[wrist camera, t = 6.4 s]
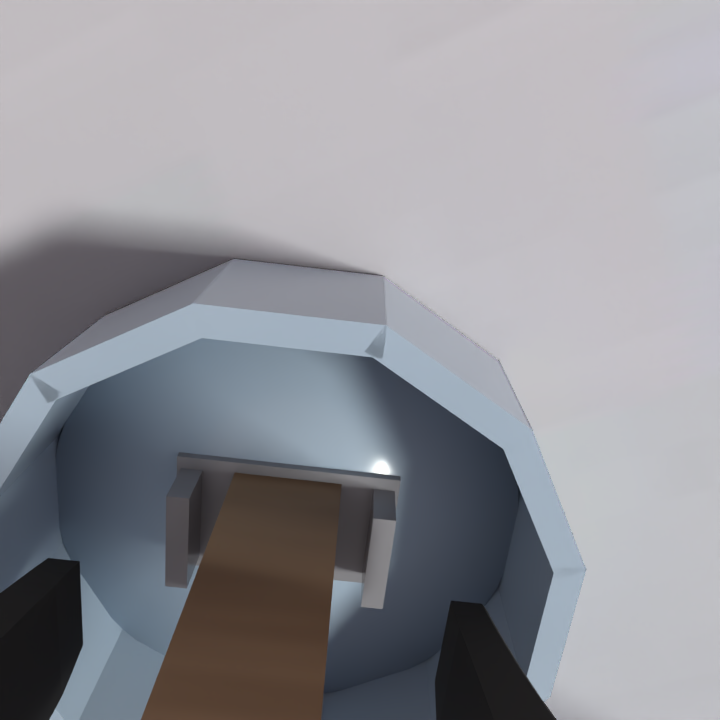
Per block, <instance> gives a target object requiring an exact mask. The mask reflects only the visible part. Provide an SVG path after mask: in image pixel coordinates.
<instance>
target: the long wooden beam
mask: <svg viewBox="0 0 720 720" xmlns="http://www.w3.org/2000/svg"><path fill="white" fill-rule="evenodd" d="M341 486H342V484H335V483H326V482H317V481H308V480H299V479H290V478H281V477H271V476H262V475H253V474H244V473H234V476H233V478H232V481H231V484H230V486H229V489H228V491H227V494H226V497H225V499H224V502H223V505H222V507H221V510H220V513H219V515H218V518H217V520H216V523H215V526H214V528H213V531H212V534H211V536H210V539H209V541H208V544H207V547H206V549H205V552H204V555H203V557H202V560H201V563H200V565H199V568H198V570H197V573H196V576H195V578H194V581H193V584H192V586H191V589H190V591H189V594H188V597H187V599H186V602H185V605H184V607H183V610H182V613H181V615H180V618H179V620H178V623H177V626H176V628H175V631H174V634H173V636H172V639H171V641H170V644H169V647H168V649H167V652H166V655H165V657H164V660H163V663H162V665H161V668H160V670H159V673H158V676H157V678H156V681H155V684H154V686H153V689H152V691H151V694H150V697H149V699H148V702H147V705H146V707H145V710H144V712H143V715H142V718H141V720H321V716H322V704H323V693H324V682H325V670H326V659H327V647H328V636H329V624H330V613H331V601H332V590H333V578H334V567H335V555H336V544H337V532H338V521H339V509H340V498H341Z"/></svg>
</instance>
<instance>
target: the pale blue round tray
mask: <svg viewBox="0 0 720 720" xmlns="http://www.w3.org/2000/svg"><path fill="white" fill-rule="evenodd" d="M234 473H244V474H253V475H262V476H271V477H281V478H290V479H299V480H308V481H317V482H326V483H335V484H342V486H341V498H340V509H339V521H338V532H337V544H336V555H335V567H334V578H333V590H332V601H331V613H330V624H329V636H328V647H327V659H326V670H325V682H324V693H323V704H322V716H321V720H436V701H435V677H436V672H437V667H438V662H439V657H440V652H441V647H442V642H443V637H444V632H445V627H446V622H447V617H448V612H449V607H450V602H451V601H461V602H470V603H480V604H483V606H484V607H485V608H486V610H487V611H488V613H489V615H490V617H491V619H492V620H493V622H494V624H495V626H496V627H497V629H498V631H499V632H500V634H501V636H502V638H503V639H504V641H505V643H506V644H507V646H508V648H509V649H510V651H511V653H512V654H513V656H514V657H515V659H516V661H517V662H518V664H519V665H520V667H521V669H522V670H523V672H524V673H525V675H526V676H527V678H528V679H529V681H530V682H531V684H532V685H533V687H534V688H535V690H536V691H537V693H538V694H539V696H540V697H541V699H542V700H543V701H544V702H545V701H546V700H547V699H548V698H549V697H550V696H551V692H552V689H553V685H554V682H555V678H556V675H557V671H558V668H559V664H560V660H561V657H562V653H563V650H564V646H565V643H566V639H567V636H568V632H569V629H570V625H571V621H572V618H573V614H574V611H575V607H576V604H577V600H578V597H579V593H580V590H581V586H582V582H583V579H584V575H585V572H586V567H585V565H584V563H583V560H582V558H581V555H580V552H579V550H578V547H577V545H576V542H575V539H574V537H573V534H572V532H571V529H570V526H569V524H568V521H567V519H566V516H565V513H564V511H563V508H562V506H561V503H560V501H559V498H558V495H557V493H556V490H555V488H554V485H553V482H552V480H551V477H550V475H549V472H548V469H547V467H546V464H545V462H544V459H543V456H542V454H541V451H540V449H539V446H538V443H537V441H536V438H535V436H534V433H533V429H532V427H531V425H530V423H529V421H528V419H527V417H526V415H525V413H524V411H523V409H522V407H521V405H520V403H519V401H518V399H517V396H516V394H515V392H514V390H513V388H512V386H511V384H510V382H509V380H508V378H507V376H506V374H505V372H504V370H503V368H502V366H501V363H500V361H499V360H497V359H496V358H495V357H493V356H492V355H491V354H489V353H488V352H487V351H485V350H484V349H482V348H481V347H480V346H478V345H477V344H476V343H474V342H473V341H472V340H470V339H469V338H467V337H466V336H465V335H463V334H462V333H461V332H459V331H458V330H457V329H455V328H454V327H452V326H451V325H450V324H448V323H447V322H446V321H444V320H443V319H442V318H440V317H439V316H438V315H436V314H435V313H433V312H432V311H431V310H429V309H428V308H427V307H425V306H424V305H423V304H421V303H420V302H418V301H417V300H416V299H414V298H413V297H412V296H410V295H409V294H408V293H406V292H405V291H403V290H402V289H401V288H399V287H398V286H397V285H395V284H394V283H393V282H391V281H390V280H388V279H387V278H386V277H385V276H379V275H370V274H362V273H353V272H344V271H336V270H327V269H318V268H310V267H301V266H292V265H284V264H275V263H266V262H258V261H249V260H240V259H232V260H230V261H228V262H225V263H223V264H221V265H218V266H216V267H214V268H212V269H209V270H207V271H205V272H203V273H200V274H198V275H196V276H194V277H191V278H189V279H187V280H184V281H182V282H180V283H178V284H175V285H173V286H171V287H169V288H166V289H164V290H162V291H160V292H157V293H155V294H153V295H150V296H148V297H146V298H144V299H141V300H139V301H137V302H135V303H132V304H130V305H128V306H126V307H123V308H121V309H119V310H116V311H114V312H112V313H110V314H107V315H104V316H103V317H102V318H101V319H99V320H98V321H97V322H96V323H94V324H93V325H92V326H90V327H89V328H88V329H87V330H85V331H84V332H83V333H81V334H80V335H79V336H78V337H76V338H75V339H74V340H73V341H71V342H70V343H69V344H67V345H66V346H65V347H64V348H62V349H61V350H60V351H58V352H57V353H56V354H55V355H53V356H52V357H51V358H50V359H48V360H47V361H46V362H44V363H43V364H42V365H41V366H39V367H38V368H37V369H35V370H34V371H33V372H32V373H30V374H29V377H28V378H27V380H26V382H25V383H24V385H23V386H22V388H21V390H20V391H19V393H18V395H17V396H16V398H15V400H14V401H13V403H12V405H11V406H10V408H9V410H8V411H7V413H6V415H5V416H4V418H3V419H2V421H1V423H0V593H1V592H2V591H4V590H5V589H6V588H8V587H9V586H10V585H12V584H13V583H14V582H16V581H17V580H18V579H20V578H21V577H22V576H24V575H25V574H27V573H28V572H29V571H31V570H32V569H33V568H35V567H36V566H37V565H39V564H40V563H42V562H43V561H44V560H46V559H47V558H54V559H64V560H73V561H80V580H81V603H82V627H83V646H82V649H81V651H80V654H79V656H78V659H77V662H76V664H75V667H74V669H73V672H72V674H71V676H70V679H69V681H68V683H67V686H66V688H65V690H64V693H63V695H62V697H61V699H60V701H59V703H58V705H57V707H56V708H55V710H54V712H53V714H52V716H51V717H50V719H49V720H141V718H142V715H143V712H144V710H145V707H146V705H147V702H148V699H149V697H150V694H151V691H152V689H153V686H154V684H155V681H156V678H157V676H158V673H159V670H160V668H161V665H162V663H163V660H164V657H165V655H166V652H167V649H168V647H169V644H170V641H171V639H172V636H173V634H174V631H175V628H176V626H177V623H178V620H179V618H180V615H181V613H182V610H183V607H184V605H185V602H186V599H187V597H188V594H189V591H190V589H191V586H192V584H193V581H194V578H195V576H196V573H197V570H198V568H199V565H200V563H201V560H202V557H203V555H204V552H205V549H206V547H207V544H208V541H209V539H210V536H211V534H212V531H213V528H214V526H215V523H216V520H217V518H218V515H219V513H220V510H221V507H222V505H223V502H224V499H225V497H226V494H227V491H228V489H229V486H230V484H231V481H232V478H233V476H234Z"/></svg>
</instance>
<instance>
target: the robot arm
mask: <svg viewBox="0 0 720 720" xmlns="http://www.w3.org/2000/svg"><path fill="white" fill-rule="evenodd" d="M82 646H83V627H82V603H81V580H80V561H73V560H64V559H54V558H47V559H46V560H44V561H43V562H42V563H40V564H39V565H37V566H36V567H35V568H33V569H32V570H31V571H29V572H28V573H27V574H25V575H24V576H22V577H21V578H20V579H18V580H17V581H16V582H14V583H13V584H12V585H10V586H9V587H8V588H6V589H5V590H4V591H2V592H1V593H0V720H49V719H50V717H51V716H52V714H53V712H54V710H55V708H56V707H57V705H58V703H59V701H60V699H61V697H62V695H63V693H64V690H65V688H66V686H67V683H68V681H69V679H70V676H71V674H72V672H73V669H74V667H75V664H76V662H77V659H78V656H79V654H80V651H81V649H82ZM435 701H436V720H556V718H555V717H554V716H553V714H552V713H551V711H550V710H549V709H548V707H547V706H546V704H545V703H544V701H543V700H542V699H541V697H540V696H539V694H538V693H537V691H536V690H535V688H534V687H533V685H532V684H531V682H530V681H529V679H528V678H527V676H526V675H525V673H524V672H523V670H522V669H521V667H520V665H519V664H518V662H517V661H516V659H515V657H514V656H513V654H512V653H511V651H510V649H509V648H508V646H507V644H506V643H505V641H504V639H503V638H502V636H501V634H500V632H499V631H498V629H497V627H496V626H495V624H494V622H493V620H492V619H491V617H490V615H489V613H488V611H487V610H486V608H485V607H484V606H483V604H480V603H470V602H461V601H451V602H450V607H449V612H448V617H447V622H446V627H445V632H444V637H443V642H442V647H441V652H440V657H439V662H438V667H437V672H436V677H435Z"/></svg>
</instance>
